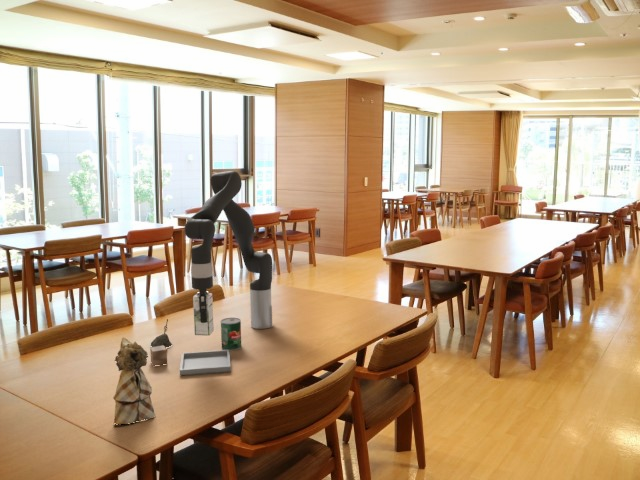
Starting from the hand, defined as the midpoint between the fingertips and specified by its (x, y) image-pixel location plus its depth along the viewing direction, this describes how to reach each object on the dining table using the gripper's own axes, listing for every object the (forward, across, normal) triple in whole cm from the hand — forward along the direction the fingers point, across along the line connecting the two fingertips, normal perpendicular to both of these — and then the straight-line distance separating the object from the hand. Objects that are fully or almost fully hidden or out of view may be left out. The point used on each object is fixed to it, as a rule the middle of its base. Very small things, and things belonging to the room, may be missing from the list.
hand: (203, 319), depth 216 cm
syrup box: (+5, 0, 0) cm, 5 cm away
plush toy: (+18, -38, +20) cm, 46 cm away
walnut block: (+17, +5, +17) cm, 25 cm away
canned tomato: (+18, +18, -10) cm, 27 cm away
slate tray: (+17, 0, 0) cm, 17 cm away
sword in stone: (+18, +25, +18) cm, 36 cm away
